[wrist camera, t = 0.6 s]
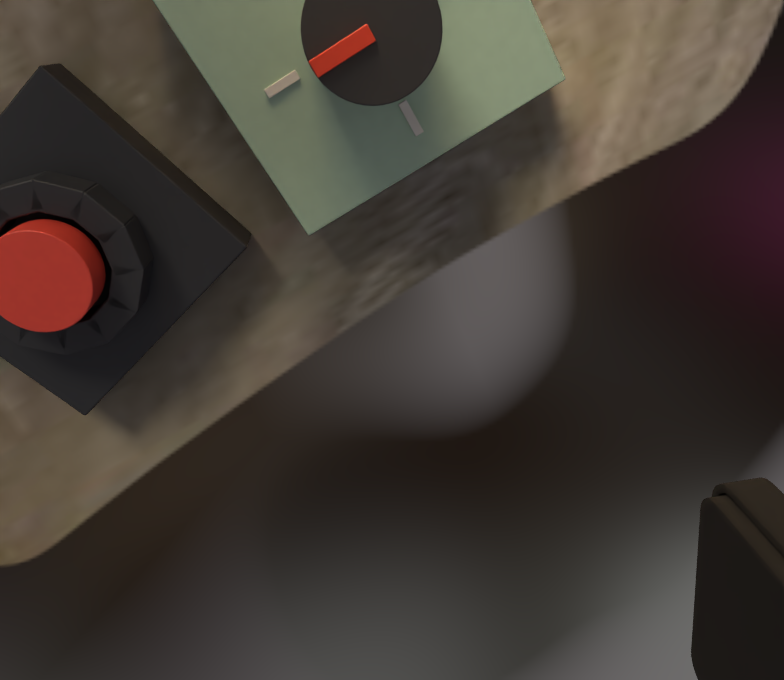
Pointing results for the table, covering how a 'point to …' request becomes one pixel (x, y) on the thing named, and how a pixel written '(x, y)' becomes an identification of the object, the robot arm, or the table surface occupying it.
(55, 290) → the button
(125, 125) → the button box
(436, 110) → the console
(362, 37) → the dial
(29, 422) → the table surface
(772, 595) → the robot arm
